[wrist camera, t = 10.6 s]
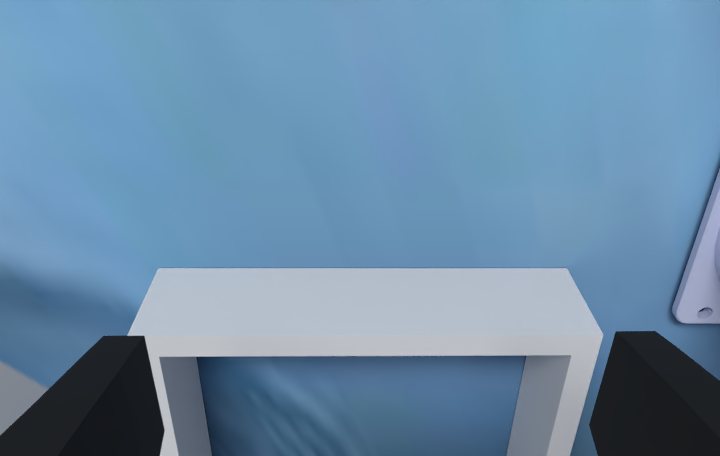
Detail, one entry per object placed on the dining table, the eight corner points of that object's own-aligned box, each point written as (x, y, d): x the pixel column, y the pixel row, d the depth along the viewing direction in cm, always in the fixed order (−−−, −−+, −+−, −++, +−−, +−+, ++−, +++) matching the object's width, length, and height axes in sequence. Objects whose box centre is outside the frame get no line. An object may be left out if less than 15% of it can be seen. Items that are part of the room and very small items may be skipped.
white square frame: (566, 268, 21) (603, 334, 18) (510, 519, 28) (530, 597, 25) (158, 268, 21) (126, 335, 18) (204, 523, 28) (188, 602, 25)
